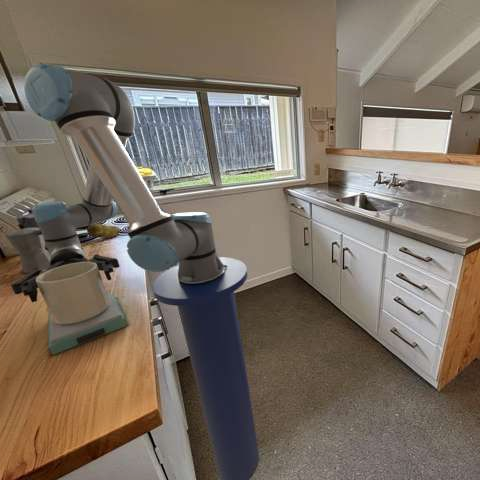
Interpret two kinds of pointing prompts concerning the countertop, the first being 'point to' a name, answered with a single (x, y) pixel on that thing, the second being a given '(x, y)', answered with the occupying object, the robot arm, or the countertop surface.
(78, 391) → the countertop surface
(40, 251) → the coffeepot
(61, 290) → the cream round pot
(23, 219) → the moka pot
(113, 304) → the kitchen scale
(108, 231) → the potato
